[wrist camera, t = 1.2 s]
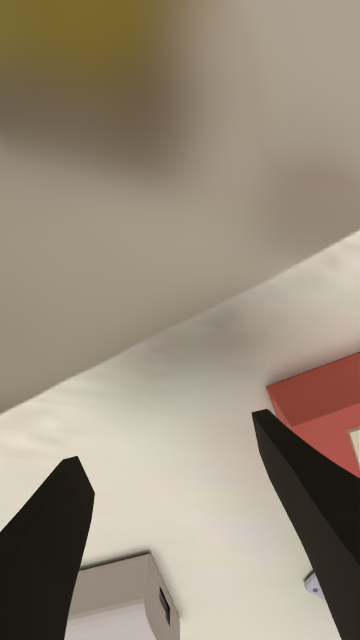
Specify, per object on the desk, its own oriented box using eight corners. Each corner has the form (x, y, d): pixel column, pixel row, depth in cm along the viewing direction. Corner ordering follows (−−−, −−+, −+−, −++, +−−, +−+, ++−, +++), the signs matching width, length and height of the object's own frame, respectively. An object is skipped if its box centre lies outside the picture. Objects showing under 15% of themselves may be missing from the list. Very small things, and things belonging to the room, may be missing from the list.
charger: (0, 583, 27) (149, 546, 26) (41, 646, 29) (180, 614, 28) (-37, 653, 22) (143, 611, 21) (15, 722, 24) (180, 687, 23)
